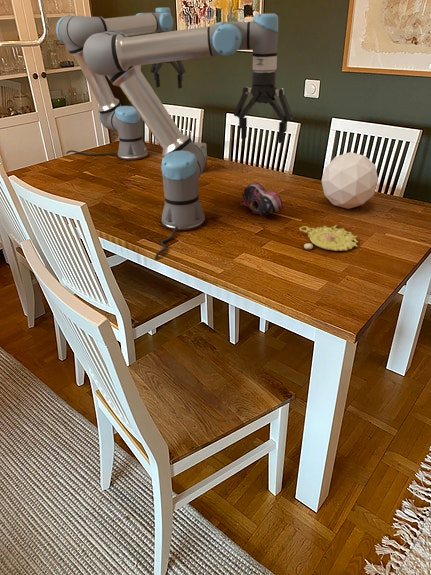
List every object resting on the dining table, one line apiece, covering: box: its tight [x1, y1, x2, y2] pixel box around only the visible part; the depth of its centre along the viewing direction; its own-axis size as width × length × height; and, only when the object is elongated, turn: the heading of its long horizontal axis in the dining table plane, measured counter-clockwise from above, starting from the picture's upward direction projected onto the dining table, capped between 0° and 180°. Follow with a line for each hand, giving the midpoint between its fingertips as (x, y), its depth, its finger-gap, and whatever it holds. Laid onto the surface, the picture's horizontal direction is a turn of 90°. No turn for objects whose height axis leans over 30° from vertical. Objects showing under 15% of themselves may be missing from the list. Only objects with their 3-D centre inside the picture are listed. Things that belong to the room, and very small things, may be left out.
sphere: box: [320, 151, 379, 210], centre depth 160 cm, size 19×20×20 cm
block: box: [193, 141, 208, 173], centre depth 202 cm, size 6×6×12 cm
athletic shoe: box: [238, 182, 284, 217], centre depth 160 cm, size 11×22×12 cm
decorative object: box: [299, 224, 359, 252], centre depth 141 cm, size 21×2×20 cm
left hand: (169, 87), depth 239 cm, fingers open, 13 cm apart
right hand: (261, 140), depth 150 cm, fingers open, 13 cm apart
